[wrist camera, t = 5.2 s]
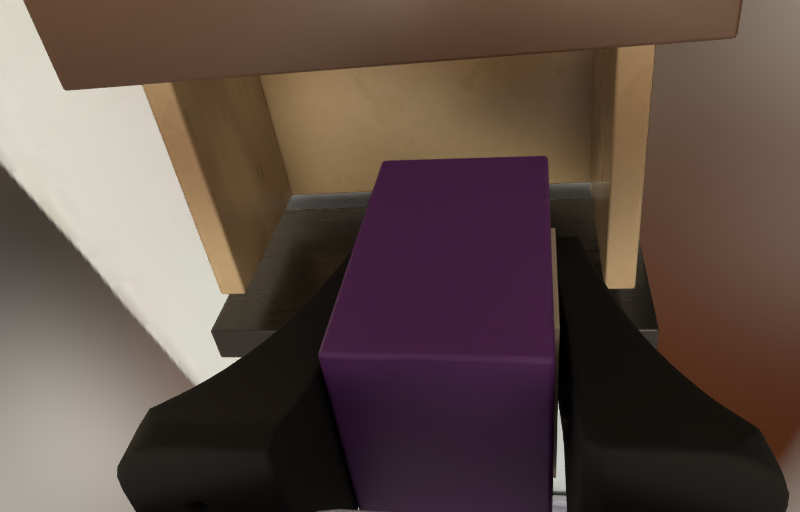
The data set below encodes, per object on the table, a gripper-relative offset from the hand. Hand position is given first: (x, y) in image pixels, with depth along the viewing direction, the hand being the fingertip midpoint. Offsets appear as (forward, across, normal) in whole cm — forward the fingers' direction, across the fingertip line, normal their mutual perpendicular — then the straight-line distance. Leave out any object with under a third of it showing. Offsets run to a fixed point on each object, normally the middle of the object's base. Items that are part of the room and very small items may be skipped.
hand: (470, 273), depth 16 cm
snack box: (+1, 0, 0) cm, 1 cm away
